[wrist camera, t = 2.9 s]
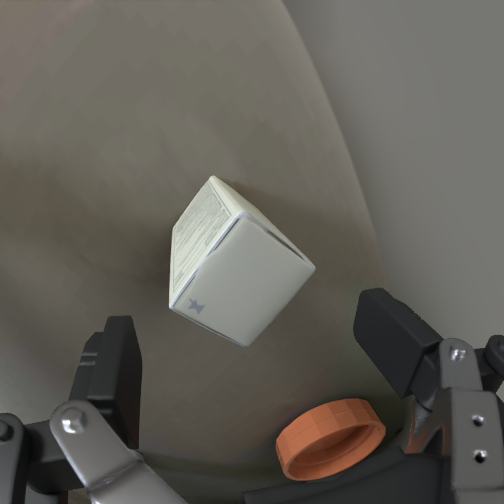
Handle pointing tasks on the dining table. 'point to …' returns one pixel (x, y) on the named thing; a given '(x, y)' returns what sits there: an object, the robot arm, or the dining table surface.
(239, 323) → the box
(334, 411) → the bowl
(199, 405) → the dining table surface
